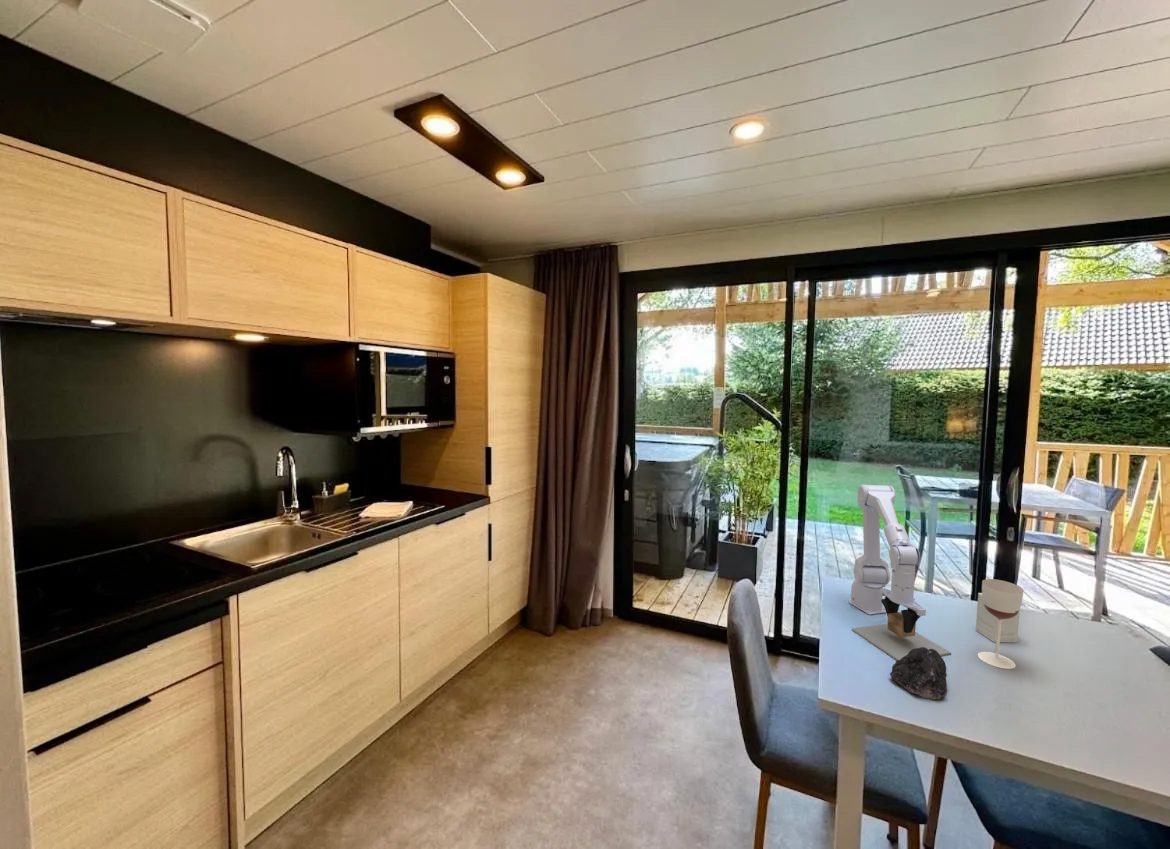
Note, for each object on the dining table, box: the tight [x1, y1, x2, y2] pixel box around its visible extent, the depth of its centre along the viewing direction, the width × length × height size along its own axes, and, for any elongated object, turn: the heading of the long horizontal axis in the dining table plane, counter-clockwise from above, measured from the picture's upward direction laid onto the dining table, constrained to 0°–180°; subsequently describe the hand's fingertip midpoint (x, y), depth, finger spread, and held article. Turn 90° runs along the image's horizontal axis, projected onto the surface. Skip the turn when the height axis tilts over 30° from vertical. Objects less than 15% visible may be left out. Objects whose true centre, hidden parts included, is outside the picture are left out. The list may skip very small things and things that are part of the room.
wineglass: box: [977, 578, 1024, 670], centre depth 136 cm, size 9×10×22 cm
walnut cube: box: [887, 611, 917, 637], centre depth 146 cm, size 5×5×5 cm
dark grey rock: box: [889, 647, 948, 700], centre depth 126 cm, size 13×14×10 cm
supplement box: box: [975, 592, 1021, 643], centre depth 149 cm, size 7×7×13 cm
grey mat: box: [851, 623, 952, 662], centre depth 147 cm, size 18×18×1 cm
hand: (900, 627), depth 146 cm, fingers closed on walnut cube, 5 cm apart
